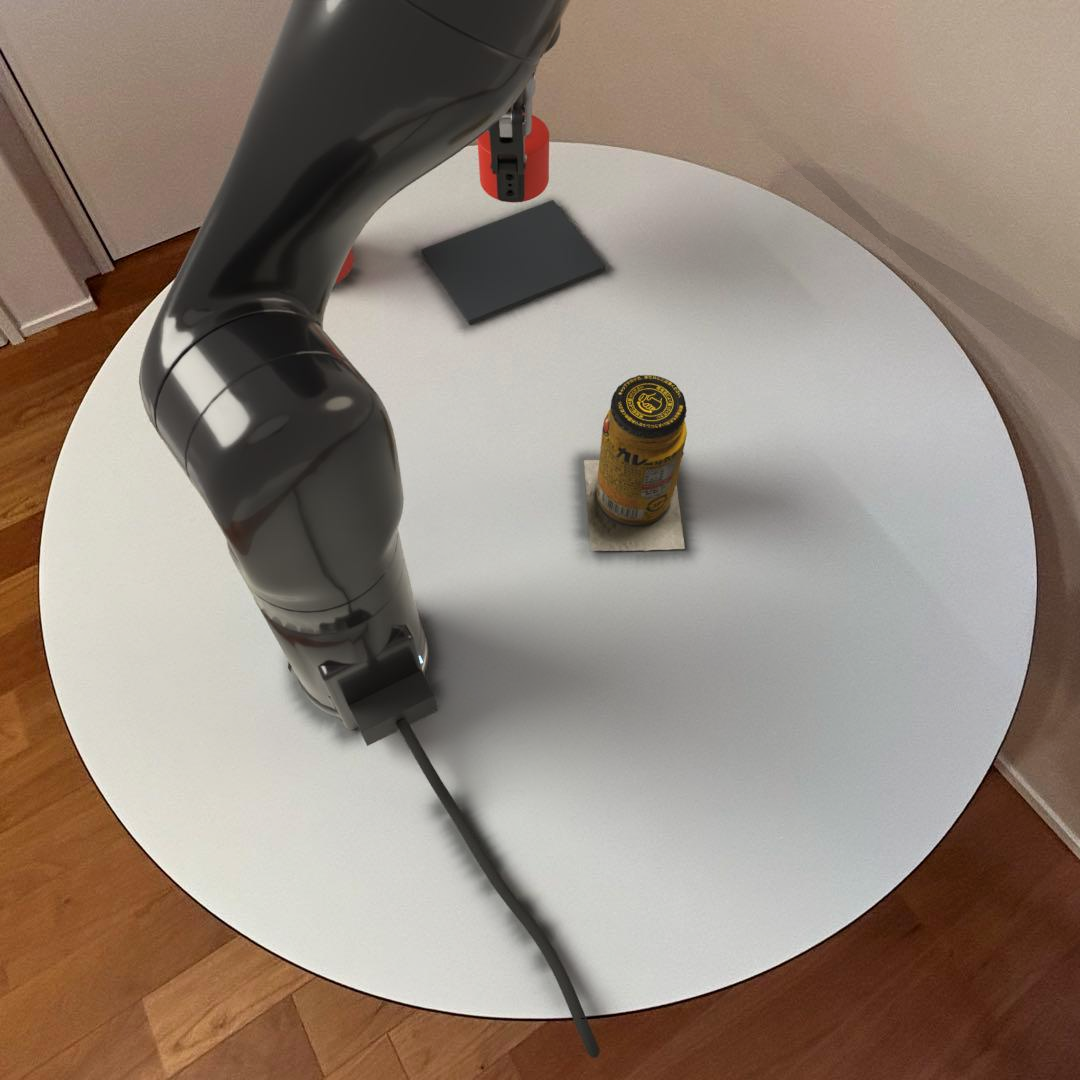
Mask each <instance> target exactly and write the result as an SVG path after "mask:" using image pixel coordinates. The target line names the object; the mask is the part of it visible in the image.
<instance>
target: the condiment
mask: <svg viewBox="0 0 1080 1080" xmlns="http://www.w3.org/2000/svg"><path fill="white" fill-rule="evenodd" d="M611 397H612V398H611V400H610V408H609V410H608V411H607V413H606V415H605V417H604V419H603V425H602V430H601V440H600V441H601V442H600V449H599V450H600V453H599V459H586V460H585V459H584V460H583V463H584V465H583V467H584V480H585V481H584V482H585V496H586V509H587V519H588V520H587V522H588V525H587V526H588V536H589V537H588V538H589V550H590V551H594V552H596V551H600V552H601V551H602V552H619V551H621V552H630V551H631V552H635V551H643V552H647V551H660V550H661V551H669V550H685V539H684V531H683V523H682V516H681V515H682V514H681V509H680V501H679V493H678V486H677V483H678V477H679V470H680V469H681V468H680V467H681V463H682V458H683V456H684V449H685V446H686V439H687V435H688V432H687V424H686V417H687V411H688V409H687V403H686V399H685V396H684V392H682V391H681V390H680V388H679V387H678V386H677V384H675V383H674V382H672V381H671V380H669V379H667V378H665V377H662V376H659V375H654V374H653V375H652V374H649V375H648V374H643V375H642V374H641V375H640V374H638V375H635V376H633V377H629V378H628V379H626V380H625V381H623V382H622V383H621V384H620V385H618V386H617V388H616V390H615V391H614V392H613V394H612V396H611Z"/></svg>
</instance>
